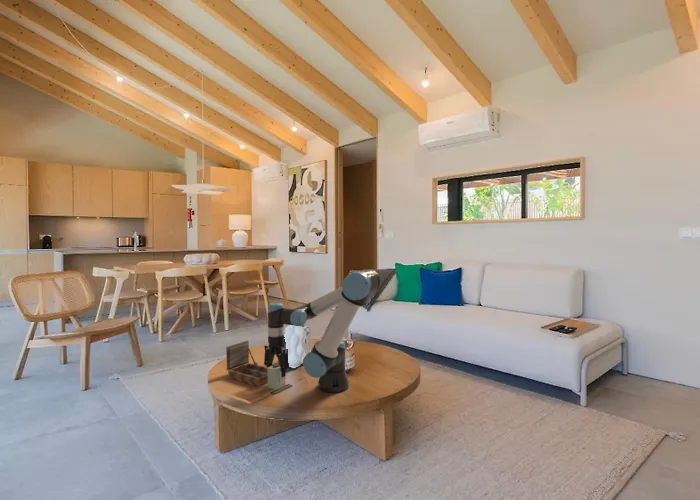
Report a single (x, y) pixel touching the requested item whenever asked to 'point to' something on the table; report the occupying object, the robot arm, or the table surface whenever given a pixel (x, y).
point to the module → (274, 377)
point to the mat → (281, 389)
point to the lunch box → (307, 340)
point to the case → (244, 366)
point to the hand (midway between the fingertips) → (276, 381)
